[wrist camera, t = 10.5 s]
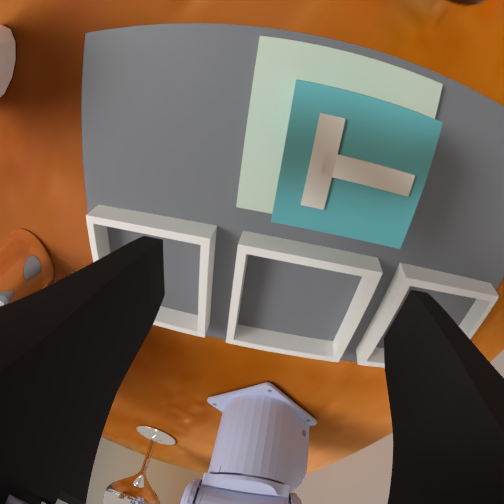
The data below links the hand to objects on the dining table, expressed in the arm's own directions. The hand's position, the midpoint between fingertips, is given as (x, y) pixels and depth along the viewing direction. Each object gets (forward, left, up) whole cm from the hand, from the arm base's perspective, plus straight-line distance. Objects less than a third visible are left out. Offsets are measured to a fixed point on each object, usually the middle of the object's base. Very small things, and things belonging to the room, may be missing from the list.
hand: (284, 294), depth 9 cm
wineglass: (-21, +37, -10) cm, 44 cm away
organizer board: (-3, 0, -9) cm, 10 cm away
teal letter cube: (+1, -3, -8) cm, 9 cm away
